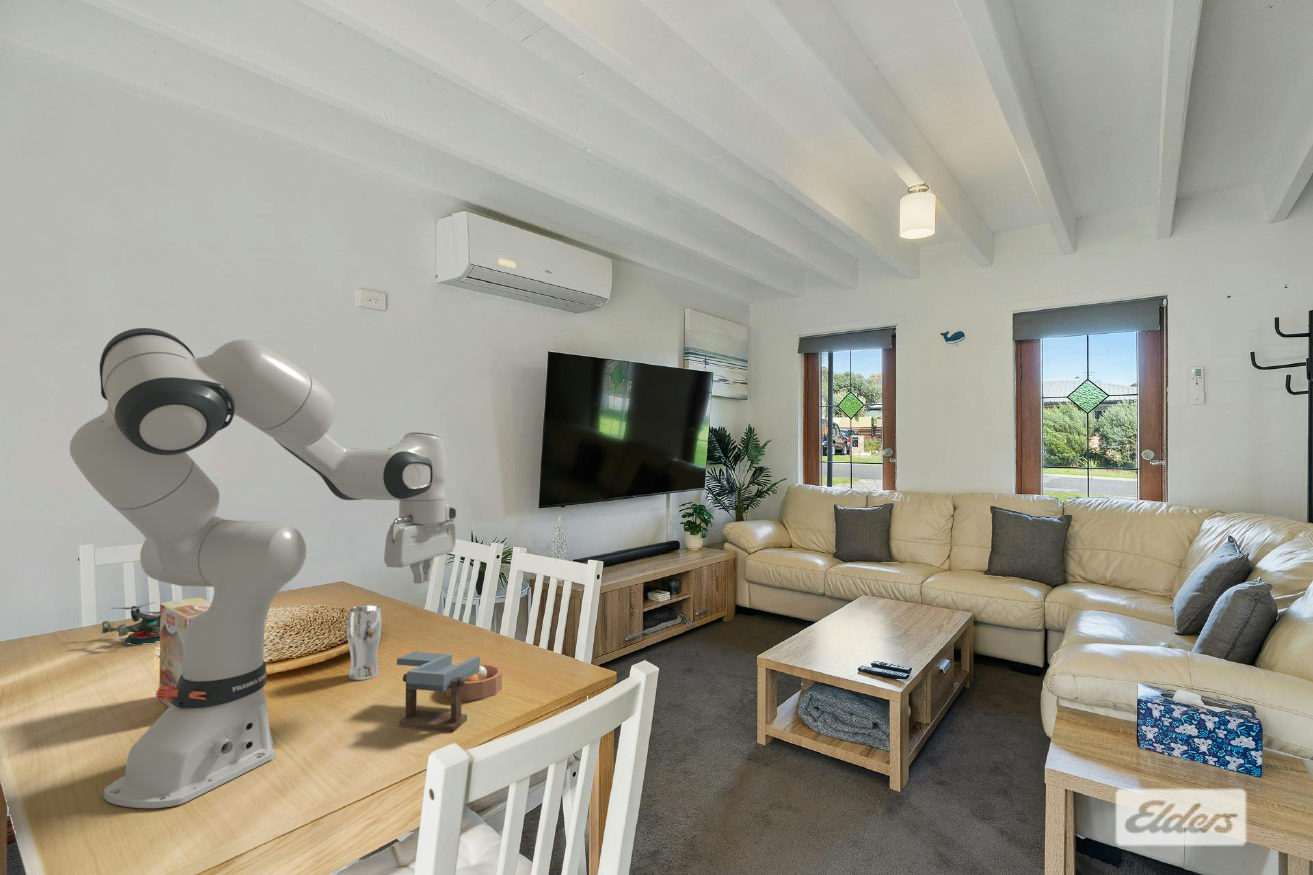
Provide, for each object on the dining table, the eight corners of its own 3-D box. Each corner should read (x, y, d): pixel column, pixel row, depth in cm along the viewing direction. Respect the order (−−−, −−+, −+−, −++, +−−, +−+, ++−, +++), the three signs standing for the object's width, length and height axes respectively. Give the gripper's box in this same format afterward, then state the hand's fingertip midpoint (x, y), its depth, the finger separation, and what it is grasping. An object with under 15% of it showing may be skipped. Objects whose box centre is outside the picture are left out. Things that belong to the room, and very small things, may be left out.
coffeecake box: (157, 699, 124) (158, 602, 125) (199, 688, 130) (200, 596, 130) (181, 719, 115) (183, 615, 115) (225, 707, 121) (227, 607, 121)
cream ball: (486, 662, 132) (491, 671, 134) (471, 661, 133) (476, 670, 135) (480, 677, 129) (485, 686, 132) (465, 676, 130) (470, 685, 132)
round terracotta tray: (486, 702, 124) (486, 684, 124) (436, 697, 126) (436, 680, 126) (509, 681, 135) (509, 665, 135) (462, 677, 137) (463, 661, 137)
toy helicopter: (199, 636, 165) (200, 605, 165) (133, 654, 150) (133, 620, 150) (153, 628, 172) (154, 598, 172) (86, 644, 158) (86, 611, 158)
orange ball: (474, 694, 127) (472, 679, 126) (458, 693, 127) (456, 678, 126) (482, 683, 130) (480, 669, 129) (466, 682, 131) (464, 667, 130)
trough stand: (455, 731, 111) (456, 683, 111) (396, 726, 113) (397, 678, 113) (469, 719, 116) (469, 673, 116) (412, 714, 118) (412, 669, 118)
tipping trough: (443, 691, 111) (444, 674, 111) (370, 685, 114) (371, 668, 114) (479, 671, 125) (480, 656, 125) (413, 666, 127) (414, 651, 128)
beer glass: (386, 670, 141) (387, 604, 141) (369, 681, 134) (370, 612, 134) (358, 668, 142) (358, 603, 142) (339, 680, 135) (340, 611, 135)
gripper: (406, 519, 113) (405, 594, 113) (461, 509, 133) (460, 573, 133) (376, 518, 115) (374, 592, 114) (435, 508, 135) (434, 571, 134)
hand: (421, 582), depth 124 cm, fingers closed
